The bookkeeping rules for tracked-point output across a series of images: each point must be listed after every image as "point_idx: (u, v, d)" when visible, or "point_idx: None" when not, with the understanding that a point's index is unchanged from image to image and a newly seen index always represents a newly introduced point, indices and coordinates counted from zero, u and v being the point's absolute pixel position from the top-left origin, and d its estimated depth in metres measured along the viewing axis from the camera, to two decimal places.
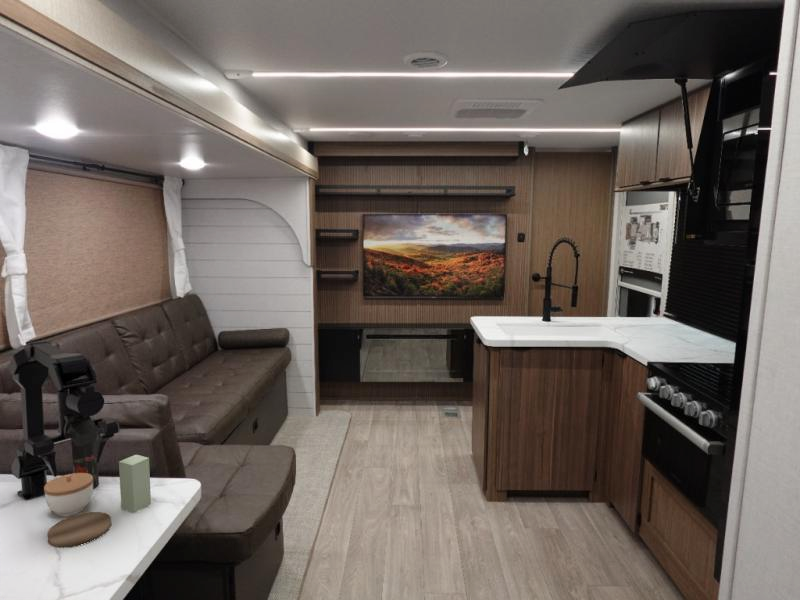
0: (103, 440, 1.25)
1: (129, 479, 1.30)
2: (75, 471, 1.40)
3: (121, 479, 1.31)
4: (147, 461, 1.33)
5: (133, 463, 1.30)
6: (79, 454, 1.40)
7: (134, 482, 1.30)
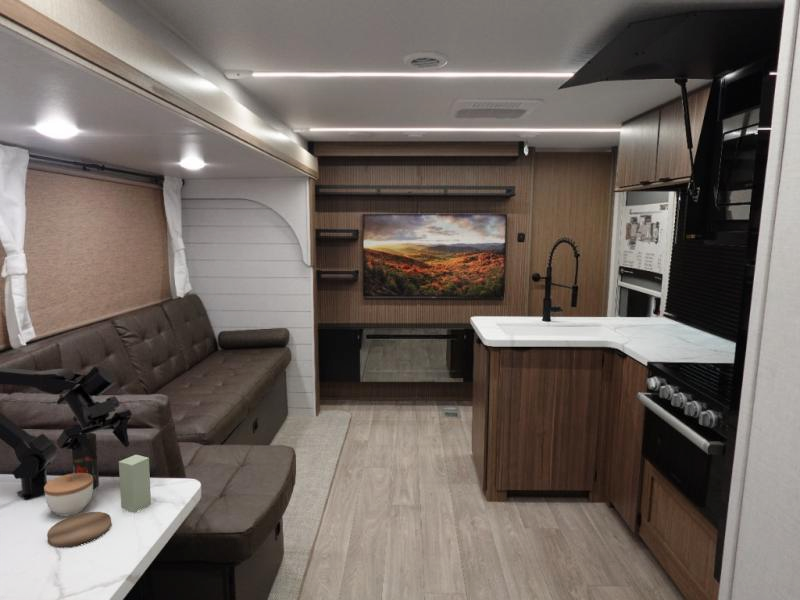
0: (123, 423, 1.41)
1: (129, 479, 1.30)
2: (75, 471, 1.40)
3: (121, 479, 1.31)
4: (147, 461, 1.33)
5: (133, 464, 1.29)
6: (79, 455, 1.40)
7: (134, 482, 1.30)
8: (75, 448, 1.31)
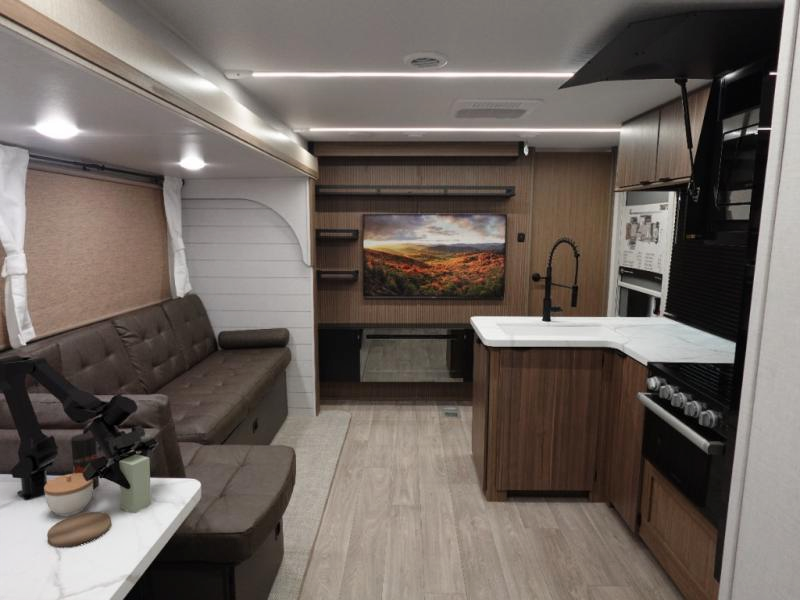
0: (142, 454, 1.36)
1: (129, 479, 1.30)
2: (75, 471, 1.40)
3: None
4: (147, 461, 1.33)
5: (134, 463, 1.30)
6: (79, 455, 1.40)
7: (134, 481, 1.30)
8: (108, 477, 1.30)
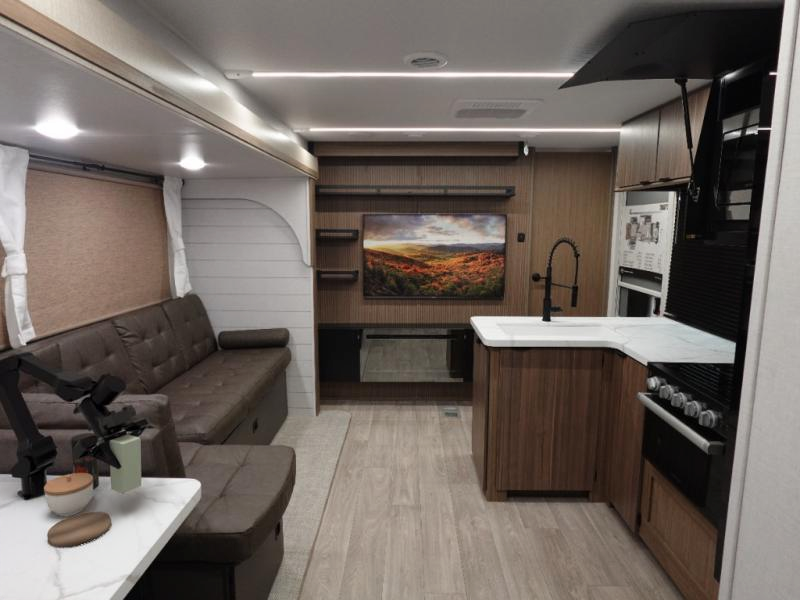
0: (133, 435, 1.33)
1: (120, 459, 1.27)
2: (75, 471, 1.40)
3: None
4: (138, 441, 1.31)
5: (124, 443, 1.27)
6: None
7: (125, 461, 1.27)
8: (98, 457, 1.27)
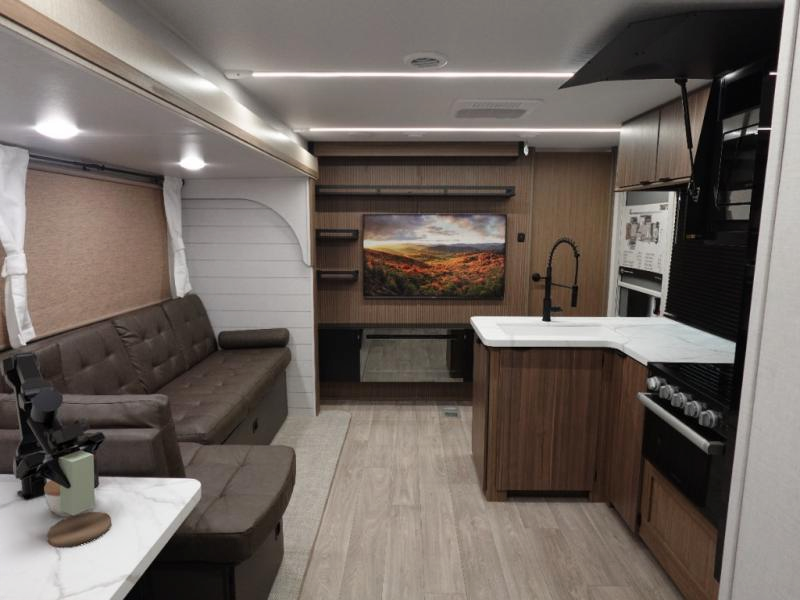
0: (86, 451, 1.23)
1: (69, 477, 1.17)
2: None
3: None
4: (91, 458, 1.20)
5: (74, 460, 1.17)
6: None
7: (75, 480, 1.17)
8: (46, 475, 1.17)
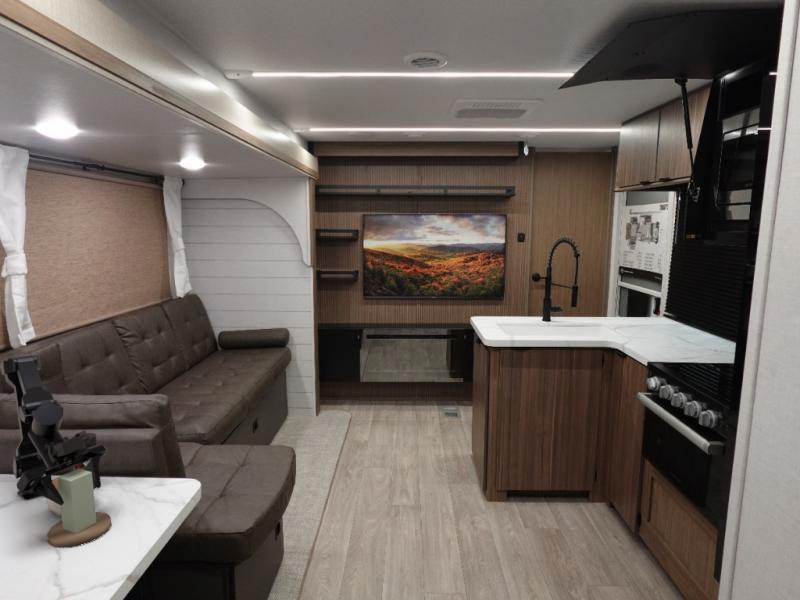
0: (94, 460, 1.25)
1: (69, 496, 1.17)
2: None
3: (61, 496, 1.19)
4: (90, 476, 1.21)
5: (72, 479, 1.17)
6: (79, 455, 1.40)
7: (74, 499, 1.17)
8: (39, 492, 1.16)
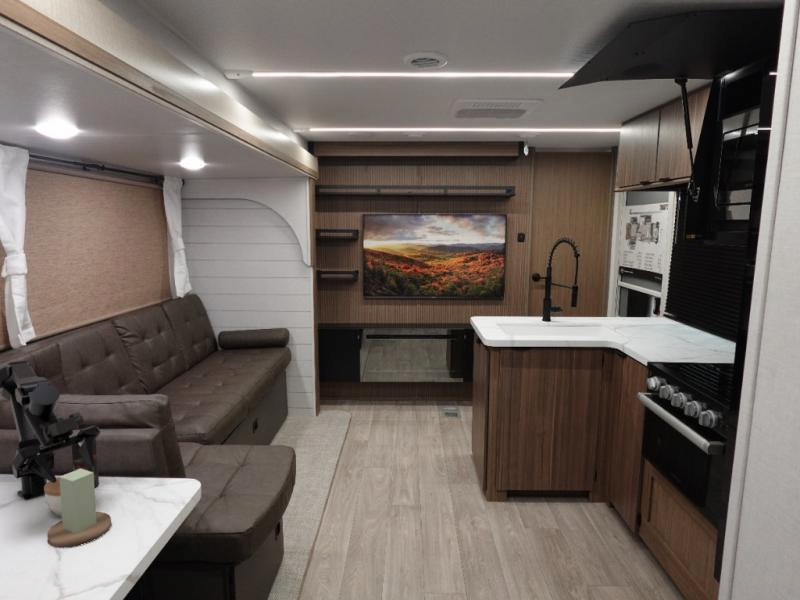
0: (88, 441, 1.30)
1: (70, 496, 1.18)
2: None
3: (62, 496, 1.19)
4: (91, 476, 1.21)
5: (74, 479, 1.17)
6: (79, 454, 1.40)
7: (75, 499, 1.18)
8: (33, 470, 1.21)
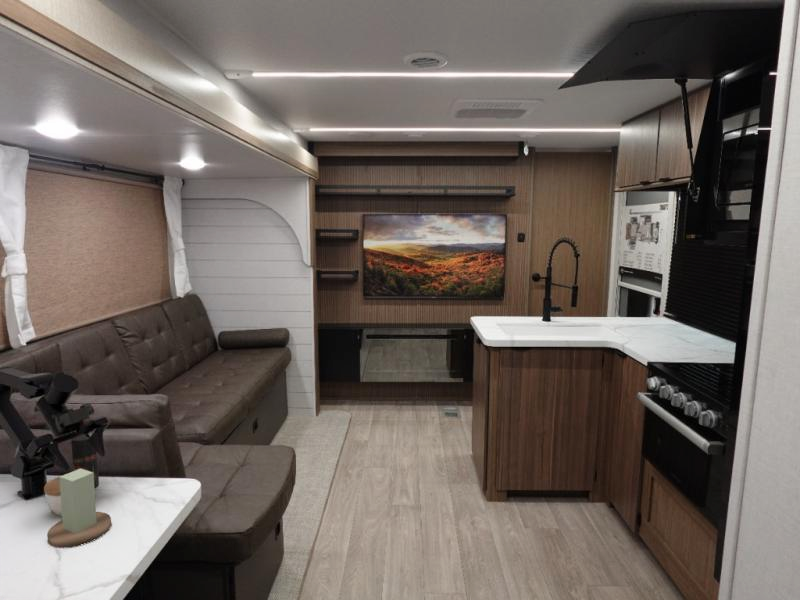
0: (98, 431, 1.34)
1: (70, 496, 1.18)
2: None
3: (62, 496, 1.19)
4: (91, 476, 1.21)
5: (74, 479, 1.17)
6: (79, 454, 1.40)
7: (75, 499, 1.18)
8: (46, 458, 1.25)
